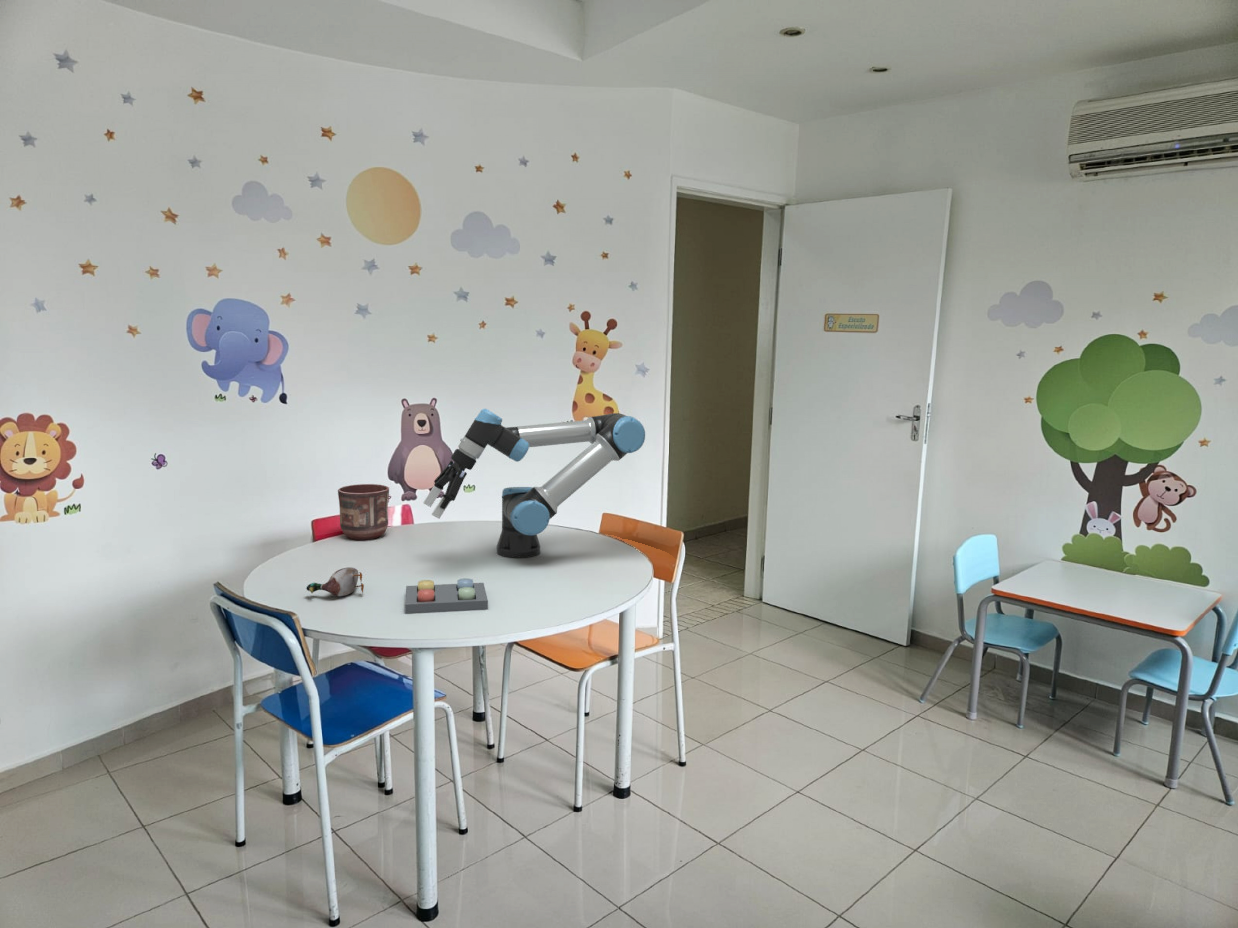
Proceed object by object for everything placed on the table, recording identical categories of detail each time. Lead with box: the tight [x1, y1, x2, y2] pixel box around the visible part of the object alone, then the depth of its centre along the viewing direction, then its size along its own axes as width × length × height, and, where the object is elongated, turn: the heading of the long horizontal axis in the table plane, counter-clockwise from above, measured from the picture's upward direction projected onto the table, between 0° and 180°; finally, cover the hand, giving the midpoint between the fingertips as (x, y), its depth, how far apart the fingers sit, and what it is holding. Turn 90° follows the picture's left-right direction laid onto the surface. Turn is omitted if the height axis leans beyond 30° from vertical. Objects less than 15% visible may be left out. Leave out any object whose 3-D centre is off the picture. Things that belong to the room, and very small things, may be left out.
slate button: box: [456, 578, 474, 591], centre depth 225 cm, size 4×4×3 cm
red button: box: [418, 589, 434, 602], centre depth 215 cm, size 4×4×3 cm
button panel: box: [404, 582, 489, 615], centre depth 220 cm, size 22×16×2 cm
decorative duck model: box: [305, 567, 365, 597], centre depth 224 cm, size 15×8×15 cm
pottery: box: [337, 483, 390, 541], centre depth 285 cm, size 18×18×18 cm
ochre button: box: [417, 579, 435, 591], centre depth 223 cm, size 4×4×3 cm
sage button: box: [459, 587, 475, 600], centre depth 218 cm, size 4×4×3 cm
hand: (430, 510), depth 247 cm, fingers open, 13 cm apart
